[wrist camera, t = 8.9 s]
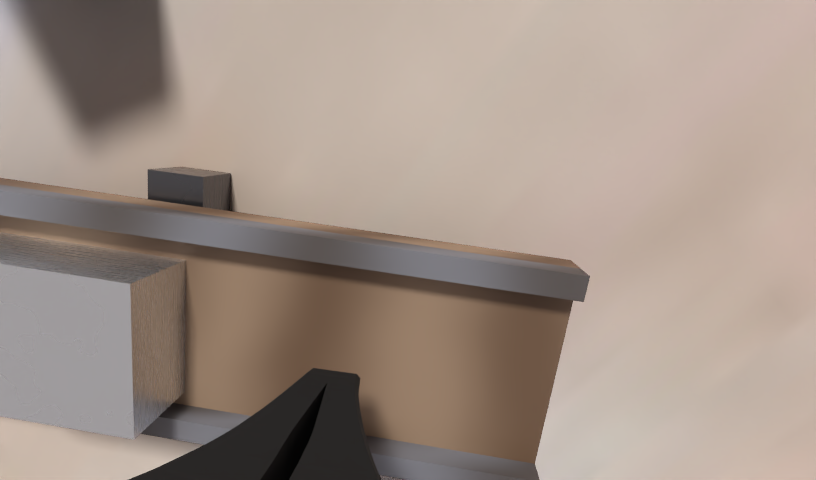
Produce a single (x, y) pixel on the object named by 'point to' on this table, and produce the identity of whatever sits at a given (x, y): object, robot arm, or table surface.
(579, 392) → the table surface
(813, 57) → the table surface
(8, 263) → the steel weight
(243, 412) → the beam
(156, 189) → the pivot stand
